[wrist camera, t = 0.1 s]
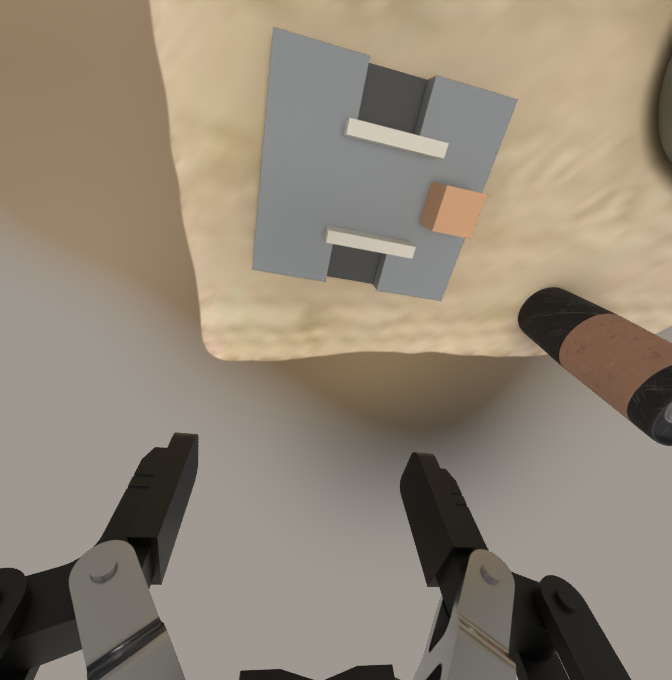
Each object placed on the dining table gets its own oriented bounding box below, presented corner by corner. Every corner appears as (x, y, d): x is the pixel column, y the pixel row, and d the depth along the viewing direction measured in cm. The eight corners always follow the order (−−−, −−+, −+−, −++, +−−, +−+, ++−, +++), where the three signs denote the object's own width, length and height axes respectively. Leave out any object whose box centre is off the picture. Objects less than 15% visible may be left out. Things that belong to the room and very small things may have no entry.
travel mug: (509, 303, 43) (647, 404, 26) (567, 274, 42) (753, 359, 25) (523, 346, 47) (652, 459, 30) (576, 320, 46) (745, 423, 28)
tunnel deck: (275, 36, 28) (270, 16, 24) (503, 102, 32) (534, 95, 28) (255, 262, 38) (249, 277, 33) (433, 293, 42) (449, 309, 37)
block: (432, 181, 33) (447, 185, 29) (468, 190, 34) (487, 194, 30) (419, 223, 35) (432, 231, 31) (454, 230, 36) (470, 238, 32)
